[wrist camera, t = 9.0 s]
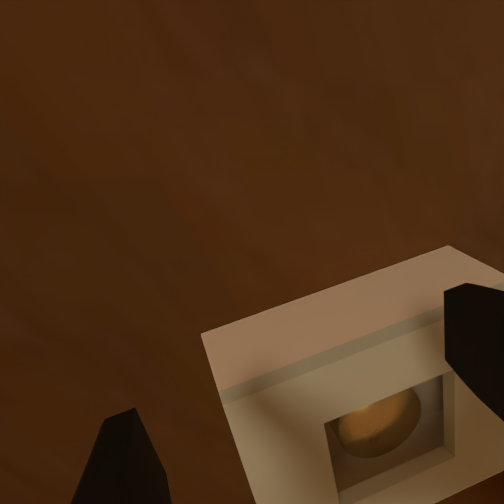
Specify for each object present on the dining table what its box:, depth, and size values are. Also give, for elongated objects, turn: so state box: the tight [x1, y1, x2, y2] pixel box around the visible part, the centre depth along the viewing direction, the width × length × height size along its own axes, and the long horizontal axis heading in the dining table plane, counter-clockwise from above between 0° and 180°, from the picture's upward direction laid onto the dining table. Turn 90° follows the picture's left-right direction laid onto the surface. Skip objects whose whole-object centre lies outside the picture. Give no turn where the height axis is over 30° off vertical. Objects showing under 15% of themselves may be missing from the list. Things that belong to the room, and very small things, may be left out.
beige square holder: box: [201, 246, 504, 504], centre depth 22 cm, size 14×12×5 cm
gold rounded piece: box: [328, 387, 421, 458], centre depth 22 cm, size 4×4×3 cm
